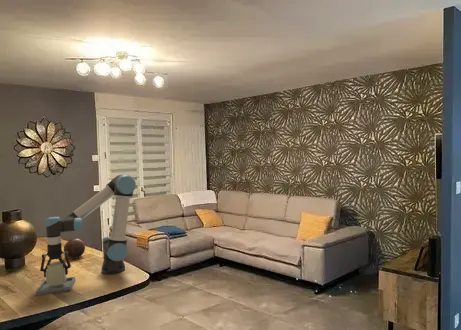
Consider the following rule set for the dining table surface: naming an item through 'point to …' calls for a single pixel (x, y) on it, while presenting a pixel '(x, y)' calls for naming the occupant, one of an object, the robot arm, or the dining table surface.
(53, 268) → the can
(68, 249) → the wooden sphere
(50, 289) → the tray
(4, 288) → the dining table surface
